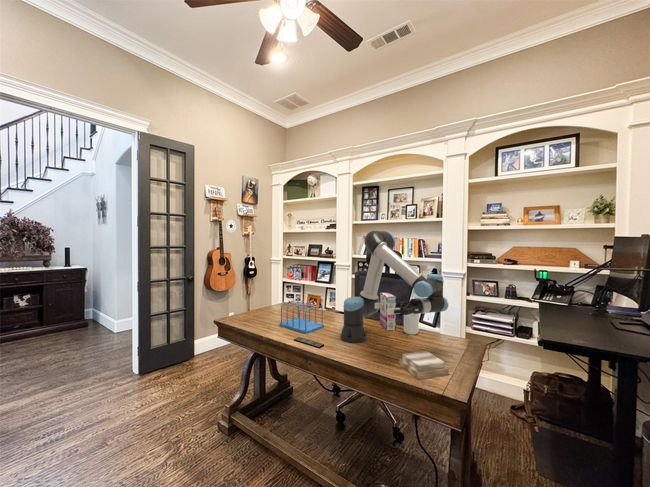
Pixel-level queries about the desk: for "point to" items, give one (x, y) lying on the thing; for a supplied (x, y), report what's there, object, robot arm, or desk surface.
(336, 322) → the desk surface
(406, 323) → the mug
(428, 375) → the plinth
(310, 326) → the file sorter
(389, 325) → the candy bar box
